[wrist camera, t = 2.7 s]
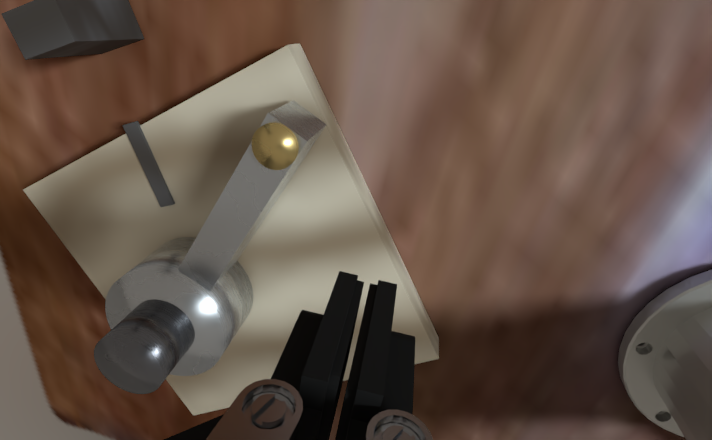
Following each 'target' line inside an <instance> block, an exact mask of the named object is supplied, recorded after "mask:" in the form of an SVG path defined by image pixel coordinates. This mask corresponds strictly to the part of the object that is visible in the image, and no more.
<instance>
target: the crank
mask: <svg viewBox="0 0 712 440" xmlns="http://www.w3.org/2000/svg"><path fill="white" fill-rule="evenodd" d="M326 125H327V124H325V123H324V122H323V121H321V120H320V119H319V118H317V117H316V116H315V115H313V114H312V113H310V112H309V111H308V110H306V109H305V108H304V107H302V106H301V105H300V104H298V103H297V102H295V101H294V100H293V101H291V102H289V103H287V104H285V105H283V106H281V107H279V108H277V109H275V110H273V111H271V112H269V113H268V114H267V115H266V117H265V119H264V120H263V122H262V124H261V126H260V127H259V128H258V129H257V130H256V132H255V133H254V135H253V138H252V141H251V143H250V145H249V147H248V148H247V150H246V152H245V154H244V155H243V157H242V159H241V161H240V162H239V164H238V166H237V168H236V169H235V171H234V173H233V174H232V176H231V178H230V180H229V181H228V183H227V185H226V187H225V188H224V190H223V192H222V194H221V195H220V197H219V199H218V201H217V202H216V204H215V206H214V208H213V209H212V211H211V213H210V215H209V216H208V218H207V220H206V221H205V223H204V225H203V227H202V228H201V230H200V232H199V234H198V235H197V237H196V238H192V237H182V238H176V239H173V240H170V241H168V242H166V243H164V244H163V245H162V246H160V247H159V248H158V249H157V250H155V251H154V252H153V253H151V254H150V255H149V256H148V257H146V258H145V259H144V260H143V261H141V262H140V263H139V264H137V265H136V266H135V267H134V268H132V269H131V270H130V271H129V272H127V273H126V274H125V275H123V276H122V277H121V278H120V279H118V280H117V281H116V282H115V283H114V284H113V285H112V286H111V288H110V290H109V291H108V294H107V297H106V302H105V311H106V317H107V320H108V323H109V326H110V328H111V331H110V332H109V333H108V334H106V335H105V336H104V337H103V338H102V339H101V340H100V341H99V342H98V343H97V345H96V346H95V349H94V358H95V362H96V364H97V366H98V368H99V370H100V371H101V373H102V374H103V375H104V376H105V377H106V378H107V379H108V380H109V381H110V382H111V383H113V384H114V385H116V386H117V387H119V388H121V389H123V390H125V391H128V392H132V393H136V394H147V393H151V392H153V391H155V390H157V389H158V388H159V387H160V385H161V384H162V383H163V381H164V380H165V379H166V378H167V376H168V375H169V374H171V375H177V376H192V375H197V374H201V373H203V372H206V371H207V370H209V369H211V368H212V367H213V366H214V365H215V364H216V363H217V362H218V361H219V359H220V358H221V356H222V355H223V353H224V352H225V350H226V349H227V347H228V346H229V344H230V343H231V341H232V340H233V338H234V337H235V335H236V334H237V332H238V331H239V329H240V328H241V326H242V325H243V323H244V321H245V320H246V318H247V317H248V315H249V314H250V312H251V309H252V305H253V289H252V285H251V282H250V279H249V277H248V275H247V273H246V271H245V270H244V268H243V267H242V265H241V264H240V263H239V262H238V261H237V260H238V259H239V257H240V256H241V254H242V253H243V251H244V250H245V248H246V247H247V245H248V243H249V242H250V240H251V239H252V237H253V236H254V234H255V233H256V231H257V230H258V228H259V227H260V225H261V224H262V222H263V221H264V219H265V218H266V216H267V215H268V213H269V212H270V210H271V208H272V207H273V205H274V204H275V202H276V201H277V199H278V198H279V196H280V195H281V193H282V192H283V190H284V189H285V187H286V186H287V184H288V183H289V181H290V180H291V178H292V176H293V175H294V173H295V172H296V170H297V169H298V167H299V166H300V164H301V163H302V161H303V160H304V158H305V157H306V155H307V154H308V152H309V151H310V149H311V148H312V146H313V145H314V143H315V141H316V140H317V138H318V137H319V135H320V134H321V132H322V131H323V129H324V128H325V126H326Z"/></svg>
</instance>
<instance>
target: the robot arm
mask: <svg viewBox="0 0 712 440" xmlns="http://www.w3.org/2000/svg"><path fill="white" fill-rule="evenodd" d="M357 279H358V275H355V274H350V273H346V272H342V271H339V274H338V276H337V279H336V282H335V285H334V287H333V290H332V293H331V296H330V299H329V301H328V304H327V307H326V310H325V312H324V315H323V314H318V313H314V312H310V311H306V310H302V311H301V312H300V314H299V316H298V319H297V321H296V323H295V325H294V328H293V330H292V332H291V334H290V337H289V339H288V341H287V343H286V346H285V348H284V350H283V352H282V355H281V357H280V359H279V361H278V364H277V366H276V368H275V370H274V373H273V375H272V377H271V379H263V380H260V381H256V382H254V383H252V384H250V385H248V386H246V387H245V388H244V389H243V390H242V391H241V392H240V393H239V395H238V396H237V397H236V399H235V400H234V402H233V403H232V404H231V406H230V407H229V408H228V410H227V411H226V412H225V414H224V415H221V416H219V417H217V418H214V419H212V420H210V421H207V422H205V423H202V424H200V425H198V426H195V427H193V428H191V429H188V430H186V431H183V432H181V433H179V434H176V435H174V436H171V437H169V438H167V439H164V440H329V436H330V432H331V428H332V424H333V420H334V416H335V411H336V407H337V403H338V399H339V395H340V391H341V387H342V382H343V378H344V374H345V370H346V366H347V362H348V357H349V353H350V348H351V343H352V338H353V333H354V329H355V324H356V319H357V314H358V309H359V305H360V300H361V295H362V290H363V286H364V282H363V281H358V280H357ZM396 291H397V284H394V283H390V282H385V281H381V280H378V284H377V285H376V284H371V283H370V286H369V291H368V295H367V299H366V304H365V308H364V313H363V317H362V321H361V326H360V330H359V335H358V339H357V344H356V348H355V352H354V357H353V361H352V366H351V370H350V374H349V379H348V383H347V388H346V393H345V397H344V402H343V406H342V411H341V416H340V420H339V425H338V430H337V434H336V439H335V440H433V439H432V436H431V433H430V431H429V430H428V428H427V427H426V425H425V424H424V423H423V422H422V421H421V420H419V419H418V418H417V417H416V416H414V415H412V410H413V387H414V364H415V336H411V335H407V334H403V333H399V332H395V331H392V323H393V315H394V307H395V299H396ZM618 367H619V373H620V378H621V381H622V383H623V385H624V387H625V389H626V391H627V394H628V395H629V397H630V399H631V400H632V402H633V403H634V405H635V406H636V408H637V409H638V410H639V411H640V412H641V413H642V414H643V415H644V416H645V417H646V418H647V419H649V420H650V421H652V422H653V423H655V424H656V425H658V426H659V427H661V428H663V429H665V430H667V431H669V432H672V433H674V434H676V435H679V436H681V437H685V439H686V440H712V269H711V270H709V271H706V272H703V273H700V274H697V275H695V276H692V277H689V278H687V279H685V280H684V281H682V282H680V283H678V284H676V285H674V286H672V287H670V288H668V289H667V290H665V291H664V292H663V293H661V294H660V295H659V296H657V297H656V298H655V299H653V300H652V301H650V302H649V303H648V304H647V305H646V306H645V307H644V308H643V309H642V310H641V311H640V312H639V314H638V315H637V316H636V317H635V318H634V320H633V321H632V323H631V324H630V326H629V327H628V329H627V330H626V332H625V334H624V337H623V340H622V342H621V345H620V348H619V356H618Z"/></svg>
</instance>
